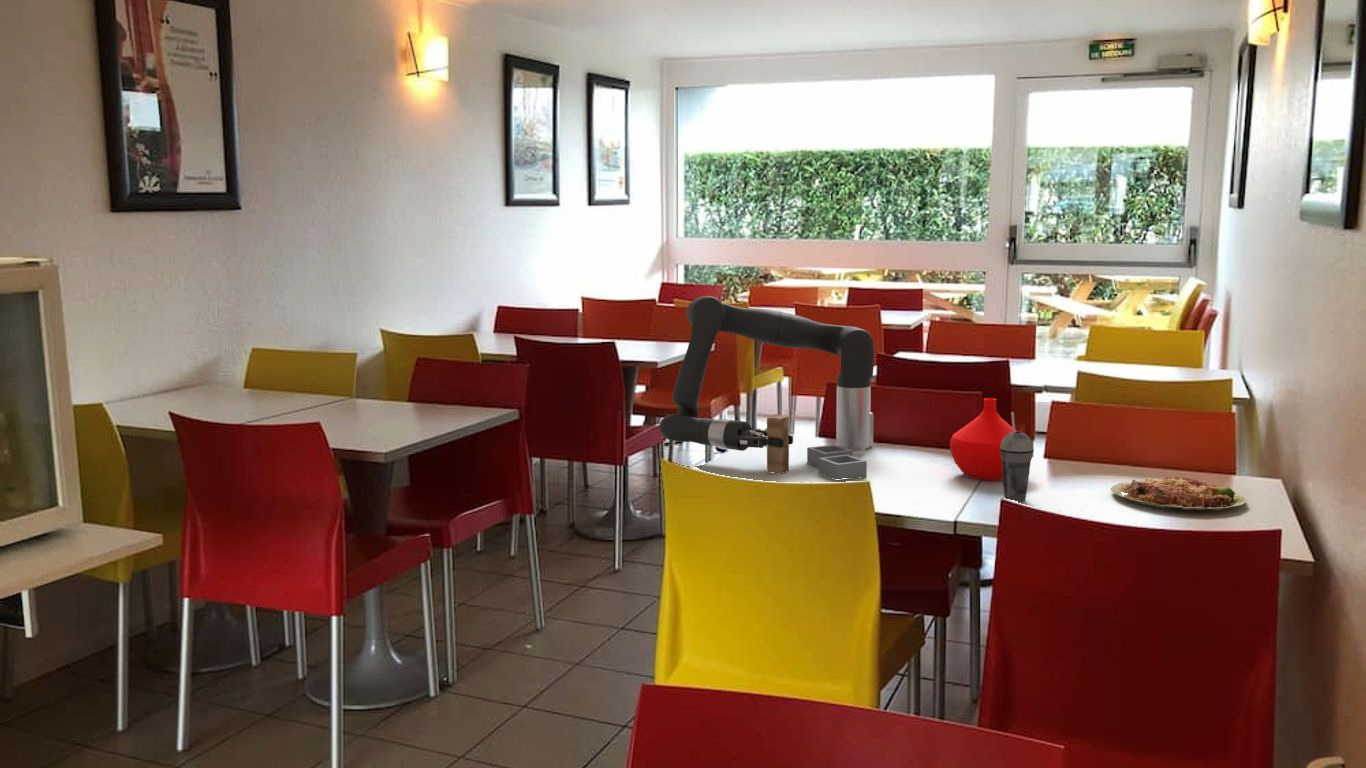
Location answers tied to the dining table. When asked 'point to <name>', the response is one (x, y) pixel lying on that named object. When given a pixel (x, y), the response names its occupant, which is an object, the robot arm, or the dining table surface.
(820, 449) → the end cap far
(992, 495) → the dining table surface
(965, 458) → the vase
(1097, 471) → the dining table surface
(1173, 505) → the rice dish
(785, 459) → the brown wooden tall block
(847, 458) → the end cap near
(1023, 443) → the beverage cup
